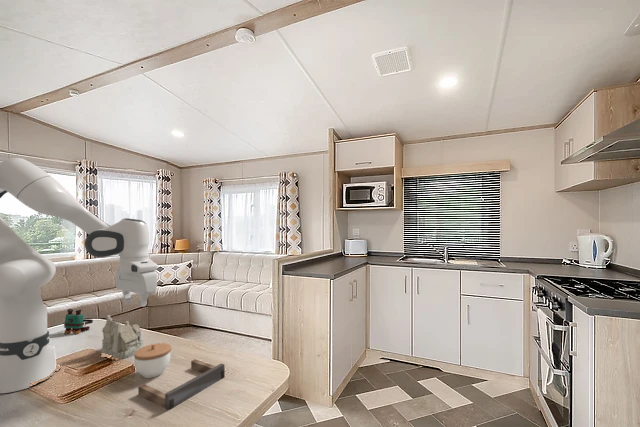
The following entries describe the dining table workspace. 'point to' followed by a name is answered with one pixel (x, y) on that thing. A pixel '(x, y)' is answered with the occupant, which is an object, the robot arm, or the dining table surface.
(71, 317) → the binoculars
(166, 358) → the lidded jar
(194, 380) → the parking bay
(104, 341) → the ceramic cottage
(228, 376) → the dining table surface
